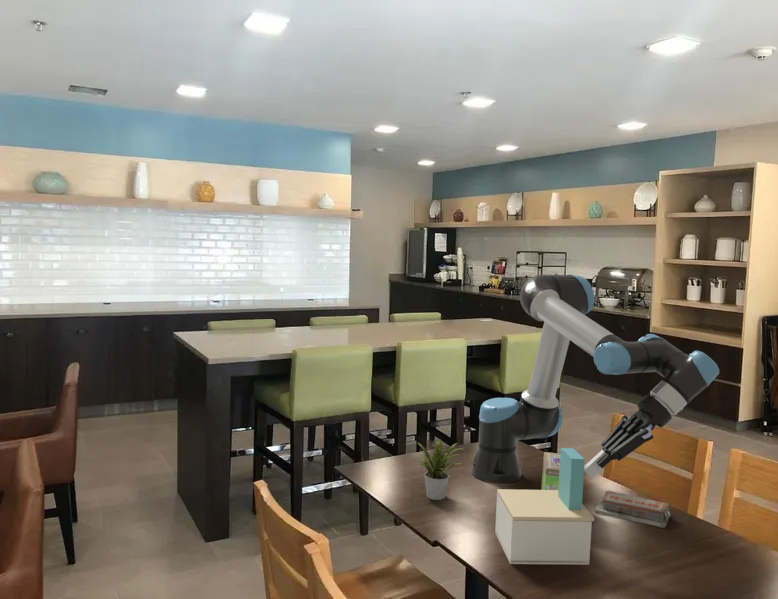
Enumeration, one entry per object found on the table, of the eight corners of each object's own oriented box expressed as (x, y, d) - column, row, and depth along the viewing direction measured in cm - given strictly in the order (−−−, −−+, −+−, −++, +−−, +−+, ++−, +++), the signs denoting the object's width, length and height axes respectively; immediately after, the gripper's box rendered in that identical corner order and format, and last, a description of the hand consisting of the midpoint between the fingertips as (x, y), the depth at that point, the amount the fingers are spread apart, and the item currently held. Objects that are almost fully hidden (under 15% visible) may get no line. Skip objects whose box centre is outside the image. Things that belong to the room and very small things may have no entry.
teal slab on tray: (570, 493, 163) (573, 443, 162) (593, 521, 147) (597, 465, 146) (496, 492, 162) (499, 441, 161) (512, 520, 146) (515, 464, 145)
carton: (566, 533, 164) (568, 494, 163) (589, 564, 148) (591, 521, 147) (495, 532, 163) (497, 493, 162) (510, 563, 147) (512, 520, 146)
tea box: (581, 528, 167) (585, 472, 166) (541, 524, 169) (544, 468, 168) (577, 506, 182) (580, 453, 181) (539, 502, 184) (542, 450, 183)
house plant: (473, 504, 180) (475, 446, 179) (426, 510, 175) (429, 450, 174) (450, 486, 193) (453, 432, 192) (407, 491, 189) (409, 435, 187)
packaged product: (671, 499, 177) (666, 512, 168) (670, 517, 177) (665, 530, 169) (603, 485, 186) (594, 496, 178) (602, 502, 187) (593, 513, 178)
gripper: (684, 424, 148) (607, 495, 148) (658, 409, 161) (587, 474, 161) (663, 400, 147) (586, 471, 148) (638, 387, 160) (567, 453, 161)
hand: (586, 473), depth 154 cm, fingers closed
